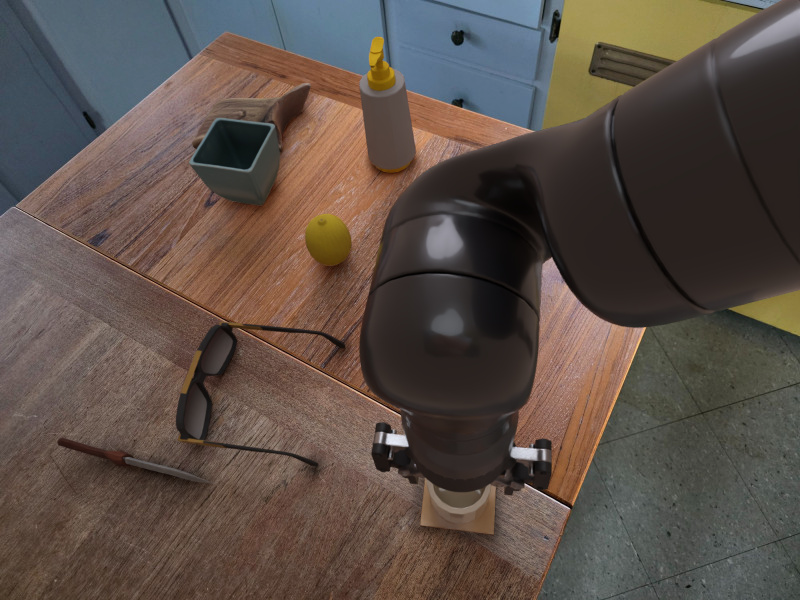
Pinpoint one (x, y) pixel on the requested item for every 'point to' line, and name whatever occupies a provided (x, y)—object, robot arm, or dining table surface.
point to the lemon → (328, 239)
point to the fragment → (258, 111)
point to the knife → (126, 459)
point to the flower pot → (238, 160)
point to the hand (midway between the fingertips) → (461, 478)
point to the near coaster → (435, 520)
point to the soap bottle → (386, 113)
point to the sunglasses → (213, 363)
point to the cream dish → (458, 503)
